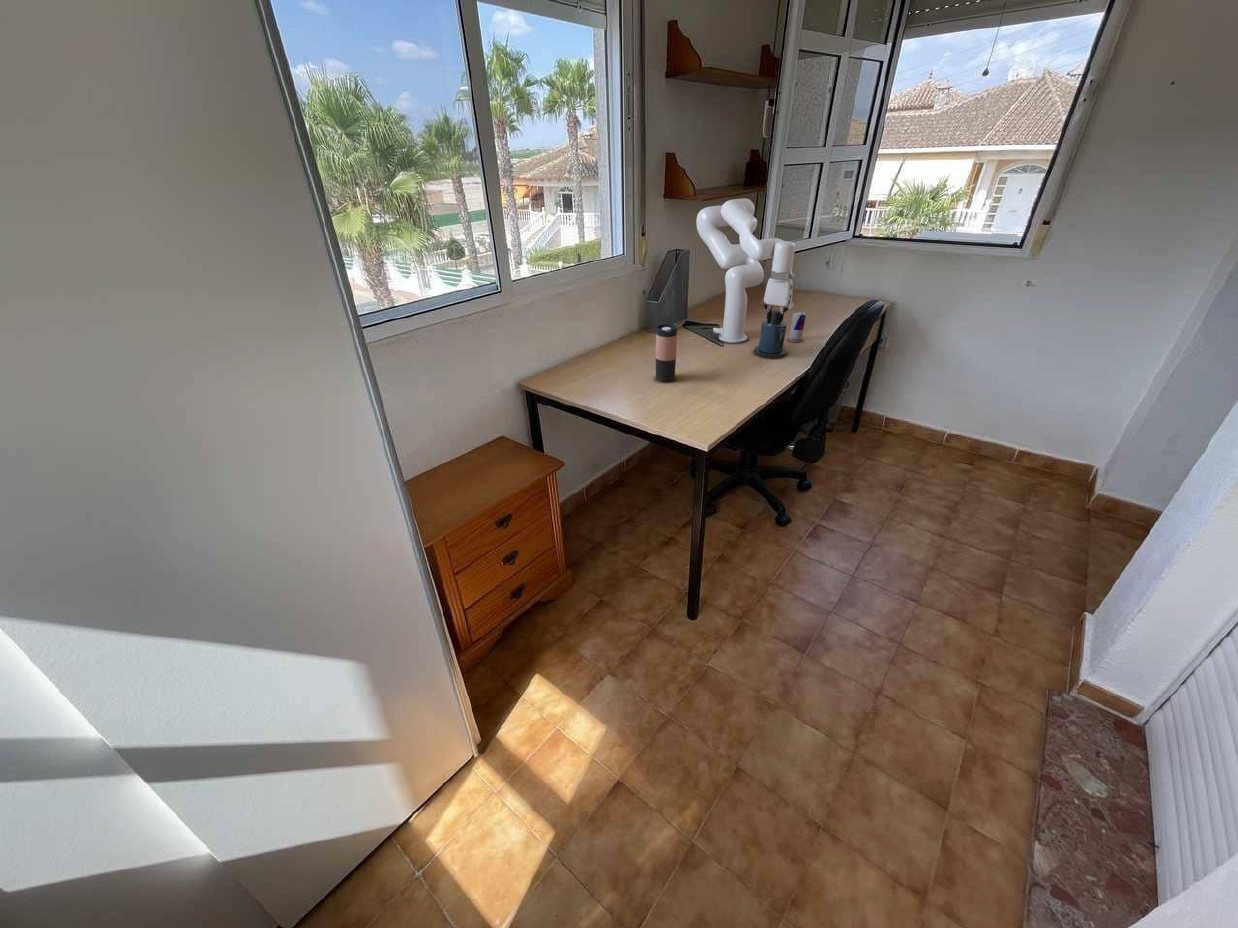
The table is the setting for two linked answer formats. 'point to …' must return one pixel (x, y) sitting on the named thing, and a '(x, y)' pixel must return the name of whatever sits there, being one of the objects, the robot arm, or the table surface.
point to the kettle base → (769, 355)
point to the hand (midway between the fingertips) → (774, 321)
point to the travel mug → (666, 352)
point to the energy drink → (797, 326)
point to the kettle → (772, 334)
